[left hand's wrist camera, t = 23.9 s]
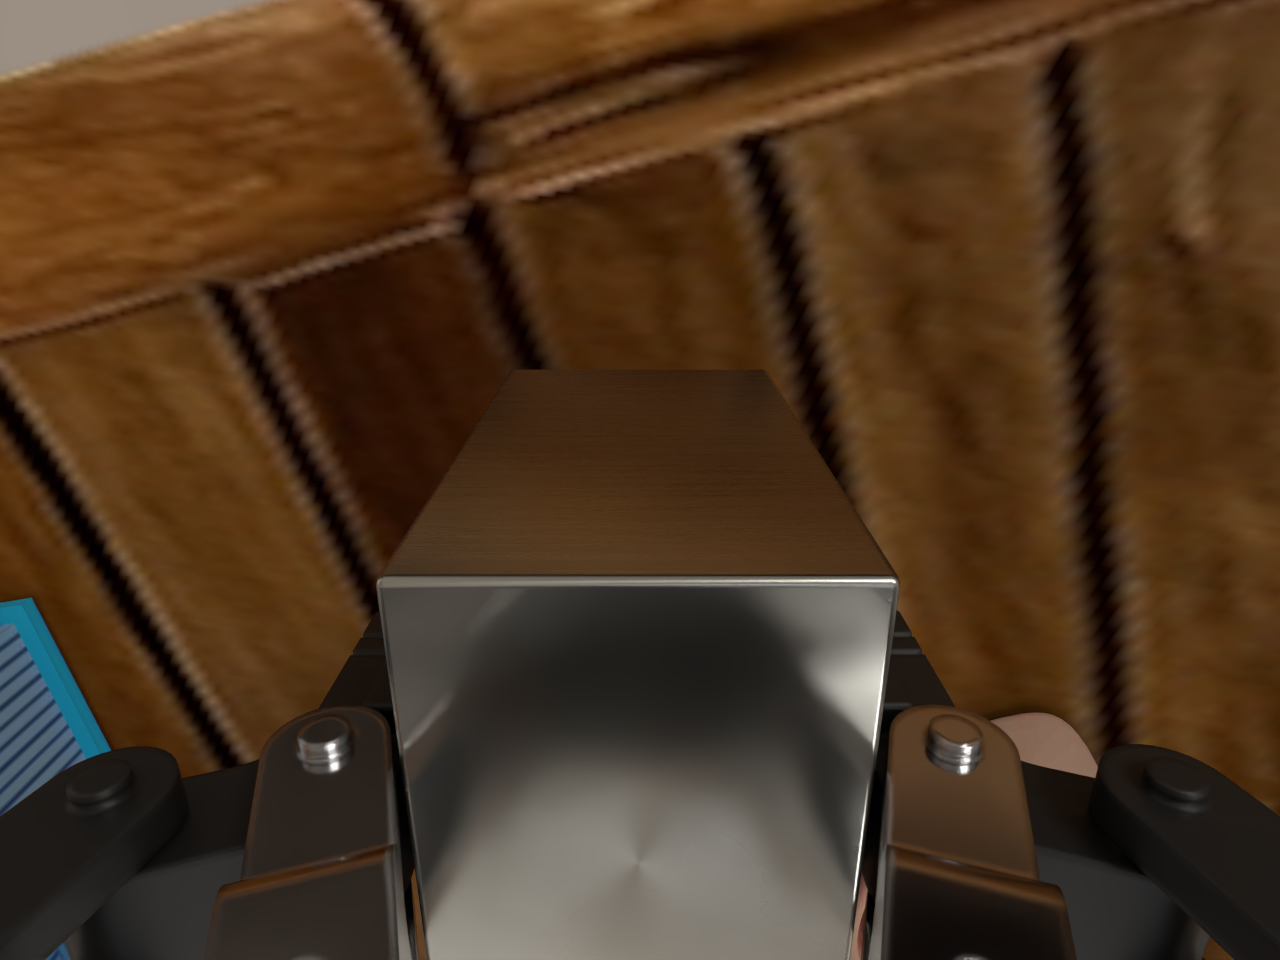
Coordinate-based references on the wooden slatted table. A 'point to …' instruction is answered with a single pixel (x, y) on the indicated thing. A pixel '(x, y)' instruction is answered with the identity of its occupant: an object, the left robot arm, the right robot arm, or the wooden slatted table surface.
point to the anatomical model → (1037, 744)
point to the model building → (38, 711)
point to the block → (638, 676)
